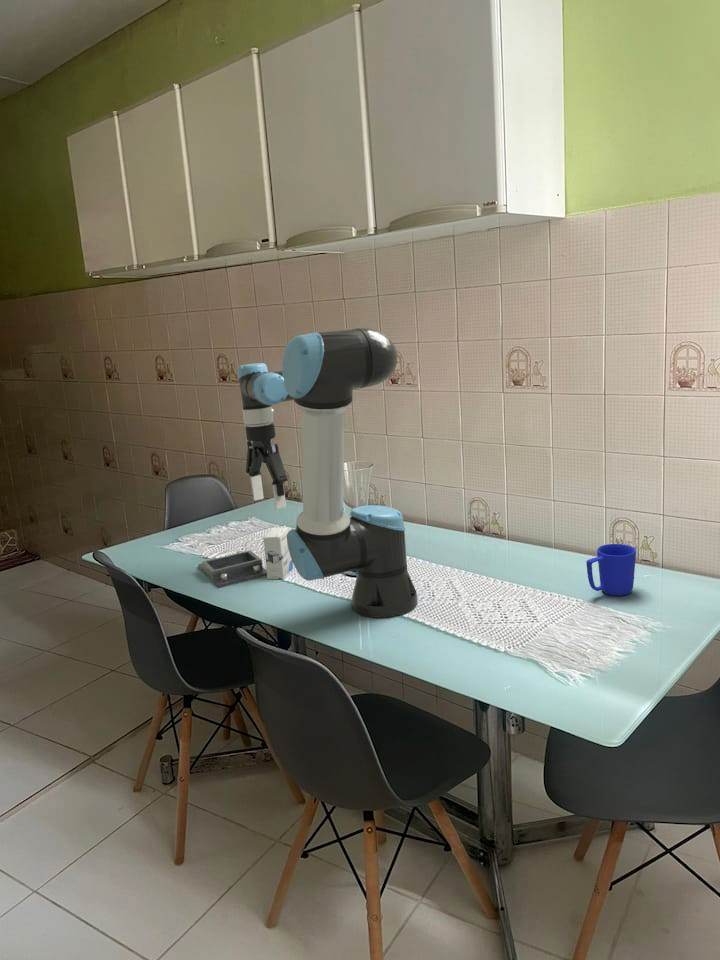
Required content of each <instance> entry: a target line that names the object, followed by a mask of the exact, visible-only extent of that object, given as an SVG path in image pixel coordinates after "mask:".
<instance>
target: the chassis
mask: <svg viewBox="0 0 720 960" xmlns="http://www.w3.org/2000/svg"><path fill="white" fill-rule="evenodd" d="M197 566H198V568H199V569H200V570H201V571H202V572H203V573H204V574H205V576H207V577H208V578H209V580H211V582H212V583H213V584H214V585H215V586H216V587H217V588H218V589H219V588H224V587H228V586H231V585H235V584H239V583H243V582H247V581H252V580H256V579H259V578H262V577H267V570H266V569H265V568H264V567H263V560H262V558H260V557H259V556H258V555H257V554H256V553H254V552H253V551H251V549H250V550H246V551H241V550H239V551H236V553H234V554H232V553H231V554H229V555H224V556H219V557H216V558H211V557H210V558H206V559H205V560H203V561H201V563H198V565H197Z"/></svg>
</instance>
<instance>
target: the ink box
mask: <svg viewBox="0 0 720 960" xmlns="http://www.w3.org/2000/svg"><path fill="white" fill-rule="evenodd" d="M289 531H290V527H289V526H288V527H285V526H284V527H272V528H271V529H270V530H269V531H268V532H267V534H265V535H264V536H263V548H264V549H263V550H264V557H265V559H264V560H265V566H266V567H265V568H266V570H267V576H266V577H267V579H268V580H280V579H279V578H284V577H285V576H286V575H288V574H289V573H290V572H291V571H290V570H292V569H294V564H293V561H292V559H291V556H290V553H289V549H288V545H287V534H288V532H289ZM289 571H290V572H289ZM286 577H287V576H286ZM286 577H285V578H286ZM285 578H284V579H285Z"/></svg>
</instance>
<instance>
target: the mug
mask: <svg viewBox="0 0 720 960" xmlns="http://www.w3.org/2000/svg"><path fill="white" fill-rule="evenodd" d="M596 553H597V556H595V557H591V558H590V559H588V560H586V570H587V573H586V574H587V580H588V583H589V587H591V589H592V590H594V591H597V592H598V591H603V593H605V594H606V595H609V596H615V597H617V596H619V597H622V596H626V595H629V594H631V592H632V591H633V588H634V582H635V581H634V579H635V572H636V571H635V569H636V559H637V558H636V557H637V550H636V548H635V547H633V546H632V545H628V544H624V543H623V544H622V543H608V544H603V545H600V546H598V548H597V549H596ZM596 562H597V563H598V564H597V565H598V574H599V583H600V584H599V586H596V585H595V581H594V576H593V564H595V563H596Z"/></svg>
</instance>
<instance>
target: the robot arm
mask: <svg viewBox="0 0 720 960" xmlns="http://www.w3.org/2000/svg"><path fill="white" fill-rule="evenodd" d="M397 366H398V351H397V348H396V345H395V344H394V342H393V341H392V339H390V337H388V336H387V335H386V334H385V333H383V332H382V331H379V330H376V329H372V328H370V327H369V328H368V327H360V328H359V327H357V328H354V329H353V328H352V329H343V330H333V331H332V330H331V331H322V332H321V331H320V332H316V331H315V332H314V331H313V332H310V333H306V334H300V335H295V336H294V337H293V338H291V339H290V341H289V342H288V343H287V344H286V347H285V349H284V352H283V357H282V365H281V370H278V371H270V372H269V371H268V365H267V364H266V363H263V362H258V363H257V362H256V363H255V362H254V363H247V364H241V365H239V366H238V368H237V376H238V377H237V381H238V383H239V385H238V386H239V392H240V393H239V394H240V399H241V406H242V415H243V423H244V425H245V428H244V429H245V437H246V446H247V447H246V448H247V452H246V465H245V472H246V474H248V475H249V477H250V483H251V491H252V498H253V499H252V500H253V501H260V500H263V499H265V497H264V490H263V482H262V472H261V467H262V465H263V464H265V466H266V468H267V470H268V472H269V474H270V477H271V479H272V482H271V485H272V490H273V499H274V507H275V510H278V509H283V508H287V501H286V493H285V487H284V485H285V484H284V483H285V482H287V481H288V475H287V473H286V470H285V467H284V464H283V461H282V458H281V455H280V452H279V446H278V445H279V444H277V443H274V444H272V442H271V440H272V439H275V438H276V428H275V424H274V423H273V422H274V414H273V413H274V409H273V406H275V405H278V404H279V405H280V404H281V403H284V402H285V403H286V402H291V401H293V403H294V404H295V405H296V406H297V407H298V408H300V410H301V444H302V445H301V446H302V447H301V448H302V449H301V451H302V452H301V455H302V456H301V457H302V458H301V459H302V462H301V463H302V511H301V512H300V513H299V514H298V516H296V519H295V524H296V525H295V526H296V527H295V529H294V528H292V529H291V530H289V532H288V534H287V545H288V549H289V553H290V556H291V559H292V563H293V567H294V568H295V570H296V572H297V574H299V576H300V577H301V578H302V579H303V580H305V581H315V580H319V579H320V580H324V579H325V578H328V577H331V576H332V577H333V576H336V575H340V574H343V573H347V572H348V573H349V572H352V571H355V570H356V578H355V583H354V588H353V591H352V595H351V605H352V609H353V611H354V612H356V613H357V614H359V615H360V616H364V617H368V618H391V617H396V616H400V615H403V614H406V613H409V612H410V611H412V610H414V609H415V608H416V606H417V605H418V592H417V590H416V588H415V585H414V582H413V580H412V578H411V575H410V573H409V572H408V571H409V570H408V560H407V544H406V533H405V532H406V528H405V523H404V517H403V514H402V512H401V511H400V510H398V509H396V508H394V507H390V506H384V505H372V504H370V505H361V506H356V507H353V508H352V509H351V511H350V514H349V515H350V516H349V515H348V514H347V513H346V512H345V511H344V498H345V497H344V494H345V492H344V491H345V490H344V489H345V485H344V484H345V483H344V479H345V477H344V475H345V415H346V413H345V410H346V409H347V408H349V406H351V405H352V403H353V396H354V395H353V393H354V390H360V389H363V388H369V387H373V386H377V385H379V384H382V383H384V382H385V381H387V380H388V379H390V377H391V376H392V375H393V374H394V372H395V371H396V368H397ZM262 463H263V464H262Z"/></svg>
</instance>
